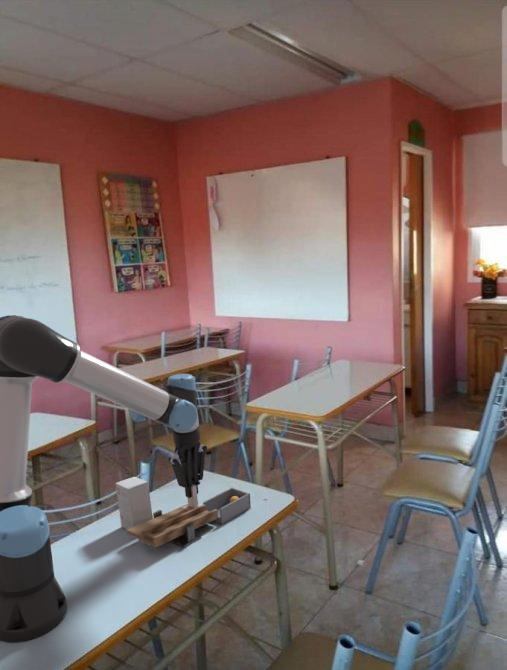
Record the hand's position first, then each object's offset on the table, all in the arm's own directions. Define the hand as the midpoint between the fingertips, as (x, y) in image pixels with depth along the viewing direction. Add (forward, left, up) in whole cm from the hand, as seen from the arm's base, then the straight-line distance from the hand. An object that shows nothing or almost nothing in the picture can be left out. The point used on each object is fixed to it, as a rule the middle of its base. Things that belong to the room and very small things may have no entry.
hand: (193, 506), depth 160 cm
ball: (+11, -6, -1) cm, 13 cm away
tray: (+8, -6, -3) cm, 10 cm away
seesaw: (-10, -3, 0) cm, 11 cm away
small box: (-14, +8, -3) cm, 16 cm away
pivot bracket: (-10, -3, -3) cm, 11 cm away
